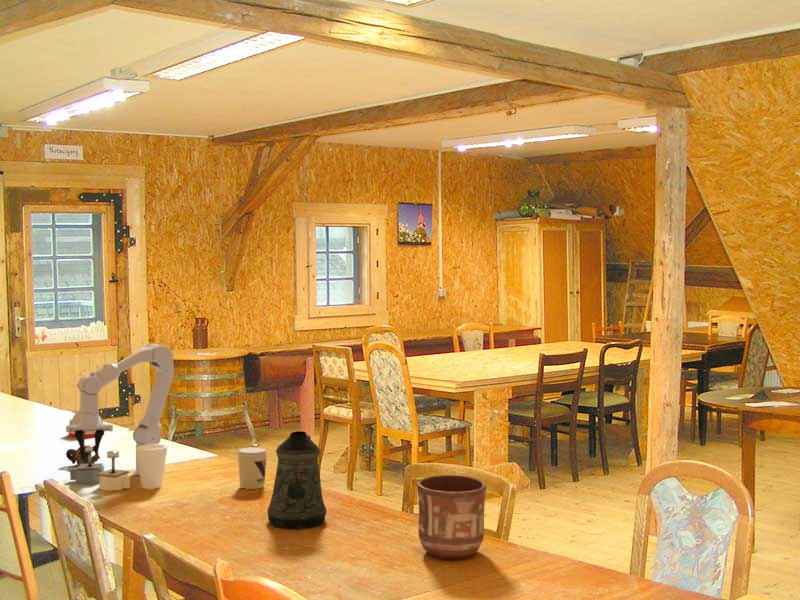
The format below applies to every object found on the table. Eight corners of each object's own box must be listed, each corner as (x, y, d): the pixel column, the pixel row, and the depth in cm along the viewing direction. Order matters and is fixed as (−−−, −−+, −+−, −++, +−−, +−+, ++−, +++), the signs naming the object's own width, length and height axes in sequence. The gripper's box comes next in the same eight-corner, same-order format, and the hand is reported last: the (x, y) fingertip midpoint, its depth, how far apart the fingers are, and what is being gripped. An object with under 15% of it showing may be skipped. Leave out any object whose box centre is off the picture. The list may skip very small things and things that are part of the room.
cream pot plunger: (104, 474, 303) (104, 452, 303) (112, 472, 307) (112, 450, 306) (114, 475, 302) (113, 453, 302) (121, 473, 305) (121, 451, 305)
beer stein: (271, 531, 258) (271, 440, 257) (262, 512, 277) (262, 427, 276) (331, 527, 263) (332, 437, 261) (318, 509, 281) (319, 425, 280)
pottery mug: (102, 464, 341) (104, 446, 337) (92, 481, 333) (94, 463, 329) (69, 455, 340) (71, 437, 336) (58, 472, 332) (60, 454, 328)
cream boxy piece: (93, 489, 302) (93, 473, 302) (111, 483, 310) (111, 468, 310) (120, 492, 298) (120, 476, 298) (137, 486, 306) (137, 471, 306)
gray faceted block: (105, 477, 318) (105, 462, 318) (101, 483, 310) (100, 468, 309) (73, 478, 317) (73, 463, 316) (68, 484, 308) (67, 469, 308)
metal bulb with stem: (96, 466, 315) (96, 444, 315) (94, 468, 312) (94, 447, 311) (85, 466, 315) (85, 445, 314) (83, 468, 311) (83, 447, 311)
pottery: (401, 552, 242) (402, 482, 241) (447, 538, 254) (449, 471, 253) (452, 569, 229) (454, 496, 228) (499, 554, 241) (500, 484, 240)
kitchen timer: (96, 430, 401) (95, 395, 400) (109, 435, 391) (109, 399, 390) (63, 434, 392) (63, 398, 391) (76, 439, 382) (76, 402, 381)
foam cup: (144, 492, 300) (143, 451, 299) (131, 486, 307) (131, 446, 306) (171, 487, 306) (171, 447, 305) (159, 482, 313) (159, 442, 312)
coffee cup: (261, 491, 302) (261, 453, 302) (233, 489, 304) (233, 452, 303) (270, 484, 311) (271, 447, 311) (243, 482, 313) (243, 446, 313)
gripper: (114, 409, 317) (114, 450, 318) (68, 410, 315) (69, 451, 316) (110, 413, 310) (111, 454, 311) (64, 414, 308) (64, 455, 309)
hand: (89, 453), depth 313 cm, fingers closed on metal bulb with stem, 4 cm apart
